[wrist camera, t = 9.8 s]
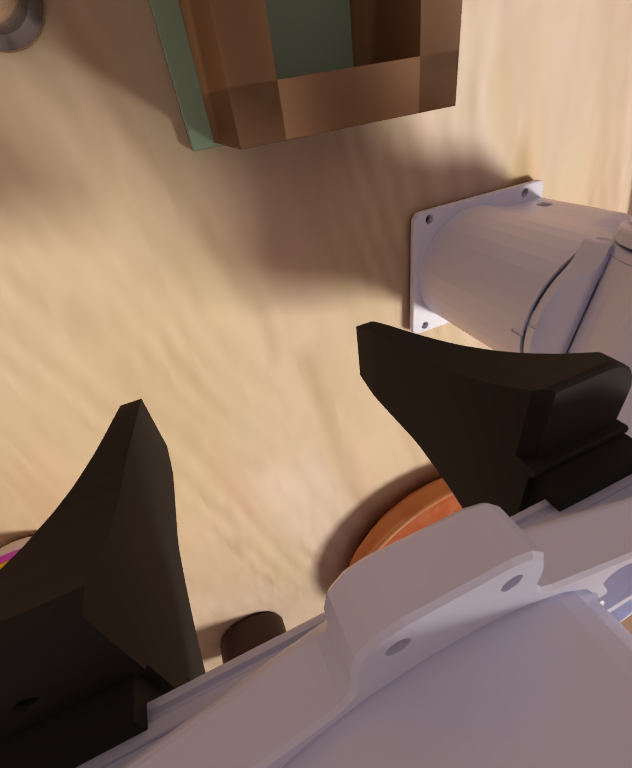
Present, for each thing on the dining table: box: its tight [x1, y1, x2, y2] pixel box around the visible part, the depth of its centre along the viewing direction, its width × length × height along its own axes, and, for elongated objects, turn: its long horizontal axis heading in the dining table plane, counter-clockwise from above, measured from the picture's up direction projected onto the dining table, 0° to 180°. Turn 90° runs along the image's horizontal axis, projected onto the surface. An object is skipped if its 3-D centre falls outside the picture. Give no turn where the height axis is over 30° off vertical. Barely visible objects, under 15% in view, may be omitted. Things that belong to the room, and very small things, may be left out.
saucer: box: [349, 478, 463, 567], centre depth 44 cm, size 23×23×4 cm
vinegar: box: [220, 612, 286, 664], centre depth 33 cm, size 7×7×20 cm
